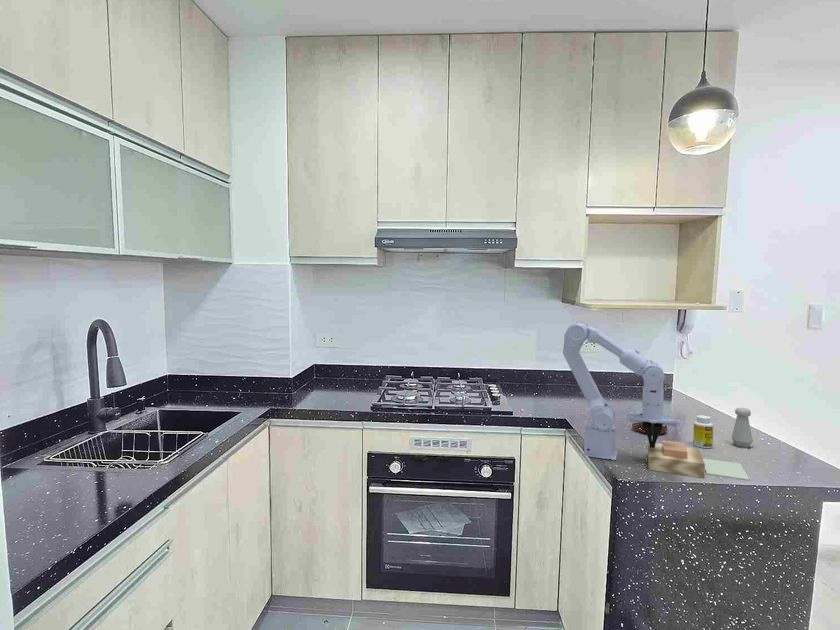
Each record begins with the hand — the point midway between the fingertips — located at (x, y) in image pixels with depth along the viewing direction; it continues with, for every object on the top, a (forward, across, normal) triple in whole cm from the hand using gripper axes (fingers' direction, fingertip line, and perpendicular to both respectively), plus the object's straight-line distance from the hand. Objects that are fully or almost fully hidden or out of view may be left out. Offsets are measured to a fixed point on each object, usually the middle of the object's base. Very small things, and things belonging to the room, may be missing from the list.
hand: (652, 446), depth 135 cm
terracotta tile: (+1, +6, 0) cm, 6 cm away
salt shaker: (+5, +28, +30) cm, 41 cm away
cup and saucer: (+5, 0, +35) cm, 35 cm away
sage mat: (+5, +19, +3) cm, 20 cm away
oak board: (+5, +6, 0) cm, 8 cm away
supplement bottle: (+5, +16, +24) cm, 29 cm away
